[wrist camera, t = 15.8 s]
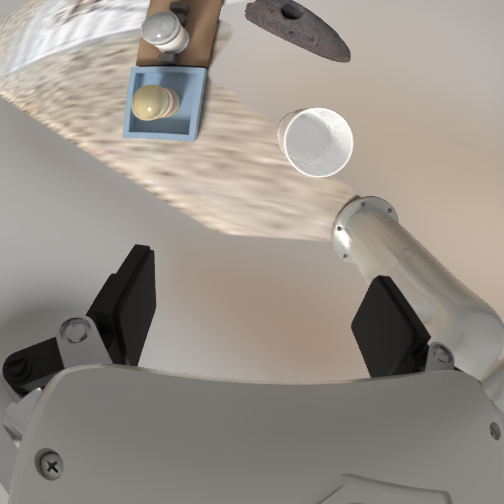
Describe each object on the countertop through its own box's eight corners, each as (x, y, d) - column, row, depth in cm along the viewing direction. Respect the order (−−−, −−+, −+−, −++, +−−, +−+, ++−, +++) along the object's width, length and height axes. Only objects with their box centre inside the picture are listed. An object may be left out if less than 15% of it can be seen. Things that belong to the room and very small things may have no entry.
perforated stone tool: (349, 52, 29) (370, 44, 23) (332, 77, 31) (351, 72, 25) (260, -1, 24) (265, -20, 18) (240, 23, 26) (241, 7, 20)
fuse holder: (227, -18, 22) (226, -30, 18) (208, 68, 30) (204, 62, 26) (159, -17, 21) (152, -29, 17) (139, 66, 28) (127, 62, 24)
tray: (207, 71, 30) (205, 68, 27) (197, 139, 35) (194, 141, 32) (138, 69, 29) (131, 67, 26) (130, 135, 33) (122, 137, 31)
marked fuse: (182, 88, 30) (169, 84, 24) (178, 117, 32) (164, 120, 26) (153, 88, 30) (133, 84, 23) (150, 116, 32) (129, 120, 25)
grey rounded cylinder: (192, 29, 25) (182, 10, 18) (187, 55, 27) (174, 42, 20) (162, 29, 25) (144, 12, 18) (157, 55, 27) (137, 43, 20)
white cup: (331, 115, 34) (360, 119, 25) (319, 165, 38) (343, 184, 29) (277, 101, 33) (292, 99, 24) (266, 154, 37) (277, 169, 28)
